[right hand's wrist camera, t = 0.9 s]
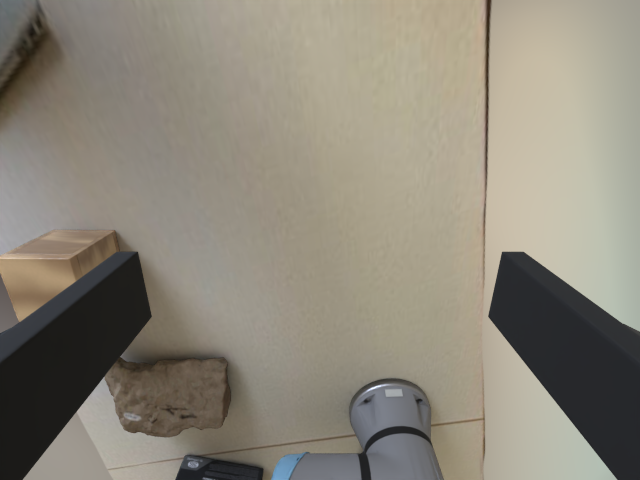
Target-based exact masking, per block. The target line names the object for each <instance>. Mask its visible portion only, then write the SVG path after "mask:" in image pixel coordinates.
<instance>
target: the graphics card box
mask: <svg viewBox="0 0 640 480" xmlns="http://www.w3.org/2000/svg"><path fill="white" fill-rule="evenodd" d="M262 477H263V468H258V467H252V466H246V465H241V464H235V463H230V462H224V461H218V460H213V459H207V458H201V457H195V456H190V455H186V456H185V457H184V460H183V462H182V464H181V467H180V469H179V472H178V474H177V477H176V479H175V480H262Z"/></svg>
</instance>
